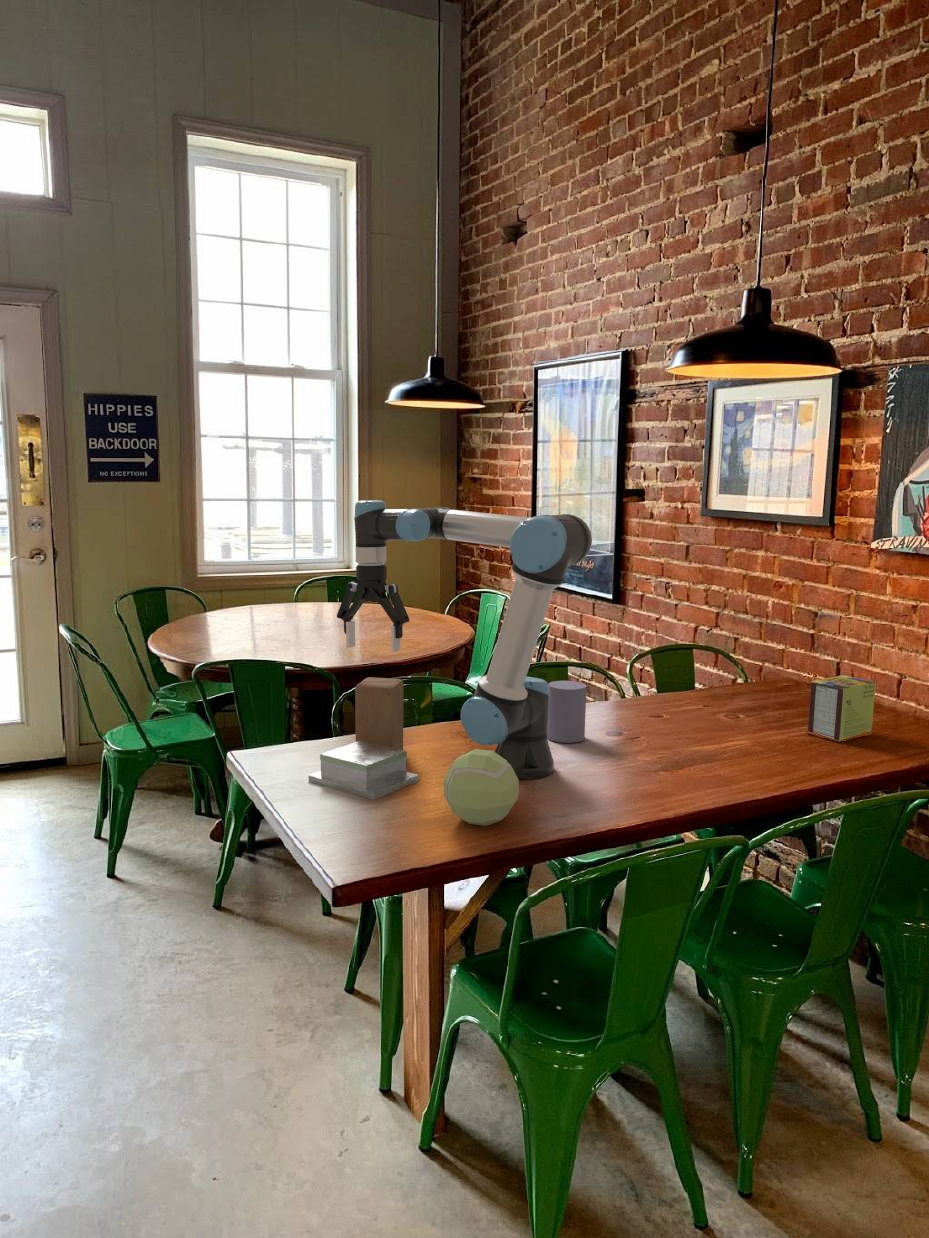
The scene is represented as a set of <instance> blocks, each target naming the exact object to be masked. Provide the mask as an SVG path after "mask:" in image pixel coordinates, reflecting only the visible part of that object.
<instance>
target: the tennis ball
mask: <svg viewBox="0 0 929 1238" xmlns="http://www.w3.org/2000/svg"><path fill="white" fill-rule="evenodd" d="M519 780H520V779H518V778H517V776H516V774H515V772H514V770H513V768H512V766H511V765H510V764H509V763H508V762H507V760H505V759H504V758H502V757H501V756H499V755H498V754H497V753H495V750H490V749H488V750H487V749H477V748H476V749H473V750H470V751H469V752H466V753H464V754H462V755H460V756H457V758H456V759H455V760H454V761H453V762H452V764H451V765H450V766H449V769H448V771H447V772H446V774H445V776H444V778H443V796H444V798H445V800H446V802H447V805H448V806H449V807H450V810H451V812H452V814H453V815H455V816H457V817H459V818H460V819H462V820H463V821H465V822H466V823H467V824H469V825H476V826H484V827H488V826H491V825H492V824H495V823H497V822H499V821H502V820H503V819H504V818H505V817H507V816H508V814H509V812H510V811H511V810H512V807H514V805H515V803H516V802H517V800H518V799H519V785H520V784H519V782H520V781H519Z"/></svg>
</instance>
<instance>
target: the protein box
mask: <svg viewBox="0 0 929 1238" xmlns="http://www.w3.org/2000/svg"><path fill="white" fill-rule="evenodd" d="M876 684H877V683H876V681H873V680H868V679H865V678H859V677H854V676H849V675H844V674H840V675H838V676H831V677H827V678H821V679H817V680H811V681H810V691H809V692H810V693H809V694H810V695H809V707H808V721H807V724H808V725H807V732H808V731H809V732H814V733H817V734H820V735H823V736H826V737H829V738H832V739H836V740H839V741H841V740H843V739H846V738H850V737H853V736H856V735H860V734H862V733H865V732H871V731H872V732H873V730H872V728H873V722H874V721H873V720H874V719H873V718H874V708H875V697H876V686H877V685H876ZM872 732H871V733H872Z"/></svg>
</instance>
